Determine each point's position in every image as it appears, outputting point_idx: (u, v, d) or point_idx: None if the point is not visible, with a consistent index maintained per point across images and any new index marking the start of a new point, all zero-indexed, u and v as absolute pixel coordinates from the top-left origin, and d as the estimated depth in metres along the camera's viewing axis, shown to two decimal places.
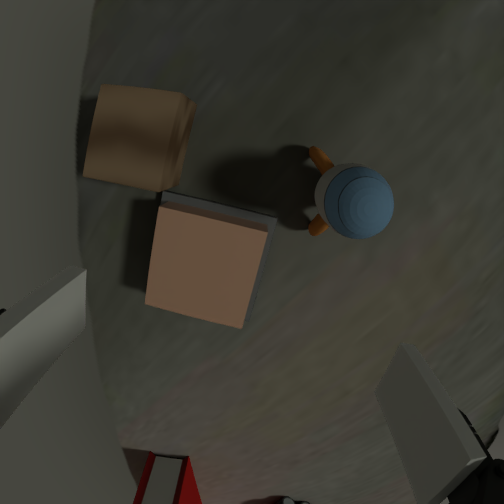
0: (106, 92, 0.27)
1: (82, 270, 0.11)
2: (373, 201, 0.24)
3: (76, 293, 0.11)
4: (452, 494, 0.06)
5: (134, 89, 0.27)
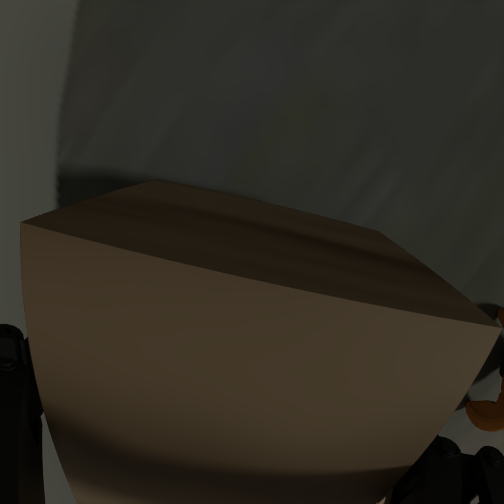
0: (59, 283, 0.05)
1: None
2: None
3: None
4: None
5: (252, 299, 0.05)
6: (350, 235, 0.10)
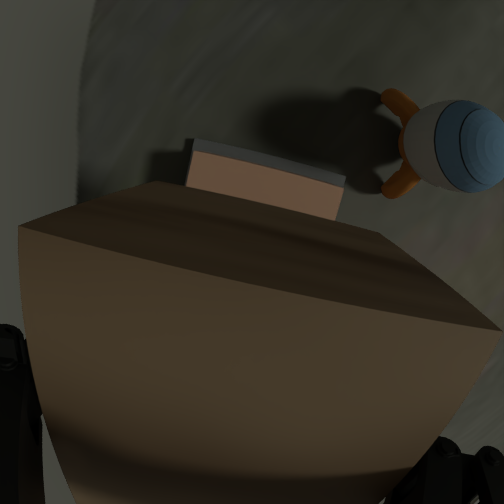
0: (57, 287, 0.05)
1: None
2: (500, 137, 0.14)
3: None
4: None
5: (252, 303, 0.05)
6: (350, 237, 0.10)
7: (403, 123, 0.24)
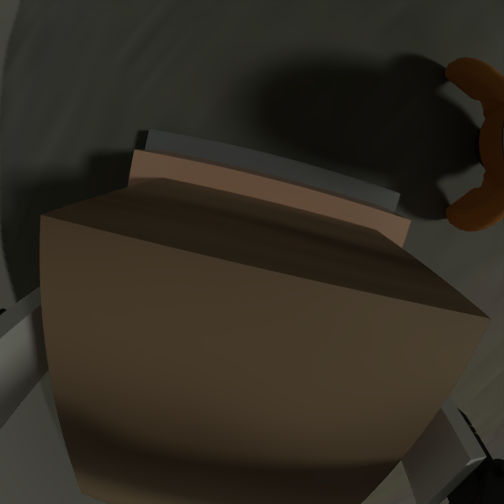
0: (76, 272, 0.05)
1: None
2: None
3: None
4: (452, 494, 0.06)
5: (257, 286, 0.05)
6: (348, 232, 0.10)
7: (487, 112, 0.13)
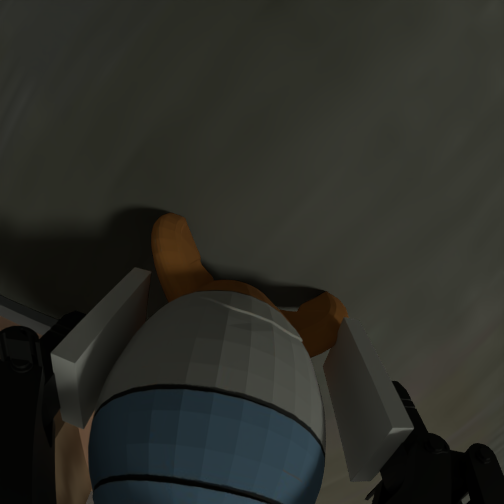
0: None
1: (148, 272, 0.13)
2: None
3: (143, 294, 0.12)
4: (384, 468, 0.07)
5: None
6: None
7: None
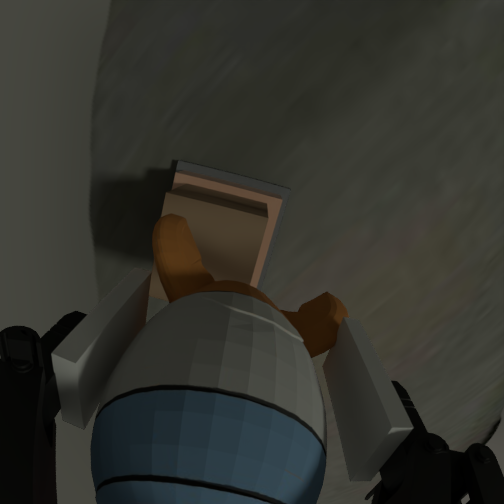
0: (173, 204, 0.27)
1: (148, 272, 0.13)
2: None
3: (143, 294, 0.12)
4: (383, 468, 0.07)
5: (210, 206, 0.27)
6: (247, 202, 0.32)
7: None
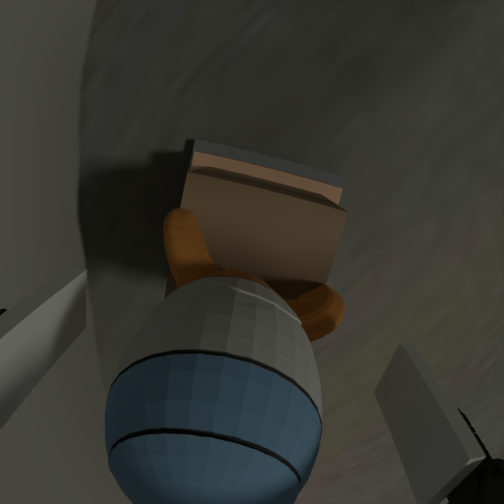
0: (200, 191, 0.17)
1: (83, 270, 0.11)
2: None
3: (77, 293, 0.11)
4: (451, 494, 0.06)
5: (260, 193, 0.17)
6: (301, 191, 0.22)
7: None
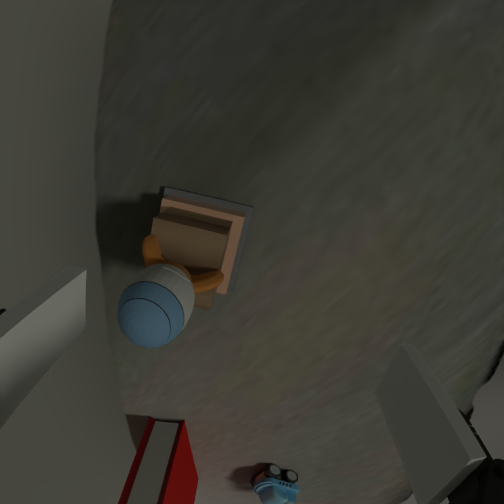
0: (159, 226, 0.37)
1: (82, 270, 0.11)
2: (140, 324, 0.25)
3: (76, 293, 0.11)
4: (452, 494, 0.06)
5: (185, 227, 0.37)
6: (215, 221, 0.42)
7: None
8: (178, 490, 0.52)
